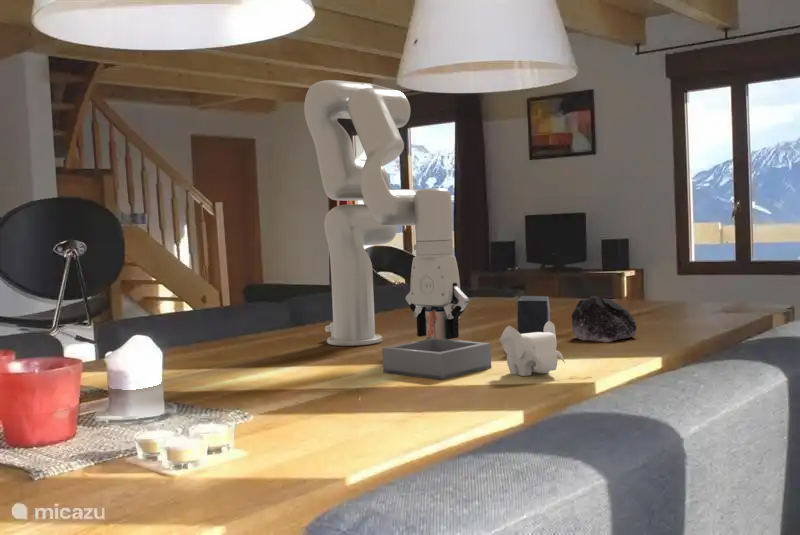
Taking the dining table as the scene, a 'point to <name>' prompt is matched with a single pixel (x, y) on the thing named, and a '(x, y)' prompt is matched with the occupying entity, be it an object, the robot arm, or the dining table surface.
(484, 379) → the dining table surface
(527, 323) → the small box
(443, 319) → the beer can
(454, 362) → the tray
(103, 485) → the dining table surface
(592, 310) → the crystal cluster
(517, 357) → the elephant figurine
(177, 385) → the dining table surface
